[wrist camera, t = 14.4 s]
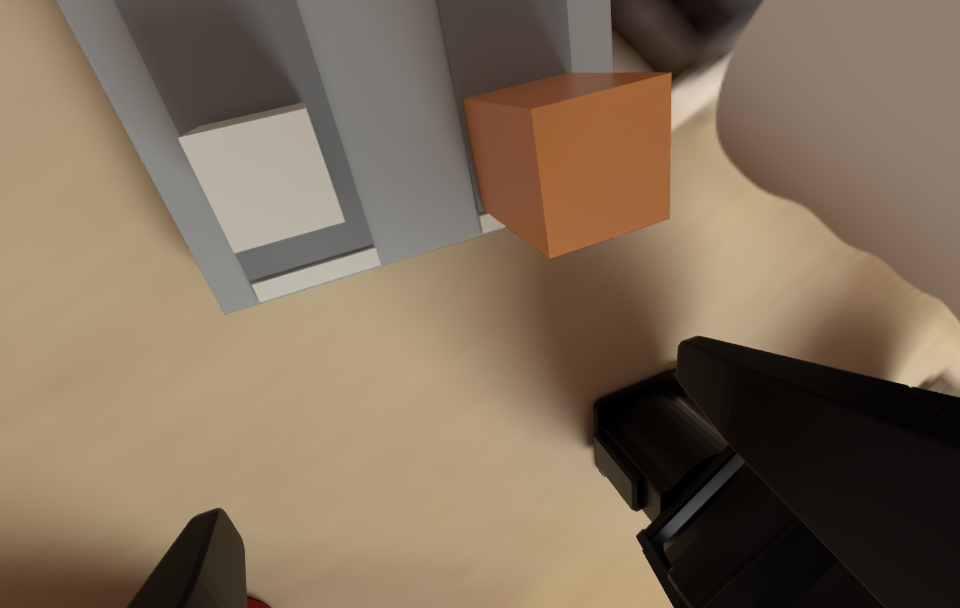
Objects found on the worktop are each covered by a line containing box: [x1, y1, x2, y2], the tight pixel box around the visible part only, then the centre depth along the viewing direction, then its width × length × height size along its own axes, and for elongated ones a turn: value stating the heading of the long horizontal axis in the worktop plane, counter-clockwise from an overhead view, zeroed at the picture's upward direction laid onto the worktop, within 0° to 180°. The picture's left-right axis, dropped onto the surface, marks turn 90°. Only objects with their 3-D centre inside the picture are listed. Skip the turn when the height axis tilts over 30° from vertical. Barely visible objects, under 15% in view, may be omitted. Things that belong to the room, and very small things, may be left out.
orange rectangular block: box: [463, 73, 671, 259], centre depth 15 cm, size 4×4×6 cm
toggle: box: [178, 102, 345, 253], centre depth 13 cm, size 3×3×3 cm
